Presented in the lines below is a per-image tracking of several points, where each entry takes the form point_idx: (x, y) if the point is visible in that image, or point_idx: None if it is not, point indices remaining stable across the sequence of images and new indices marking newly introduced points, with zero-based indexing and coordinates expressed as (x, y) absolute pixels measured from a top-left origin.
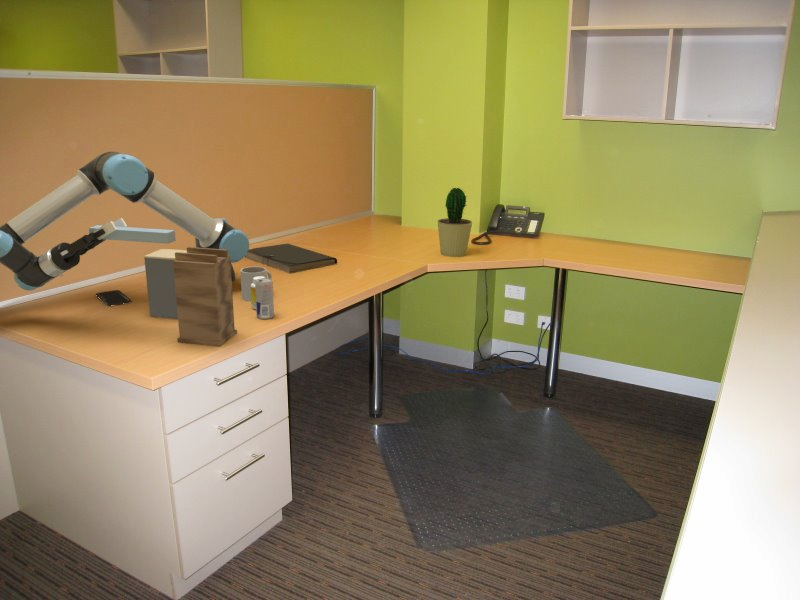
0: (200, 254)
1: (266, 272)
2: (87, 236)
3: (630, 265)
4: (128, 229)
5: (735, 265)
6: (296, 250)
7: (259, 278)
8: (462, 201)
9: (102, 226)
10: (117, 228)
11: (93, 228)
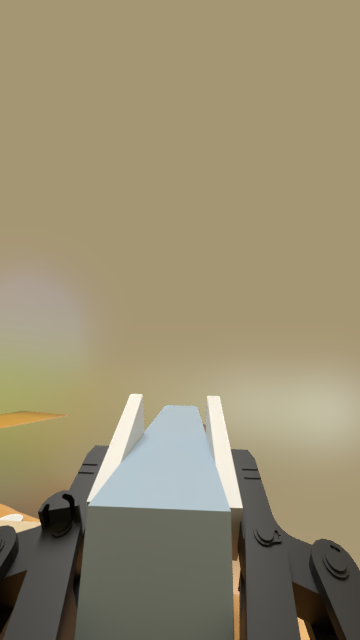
0: (205, 429)
1: None
2: (321, 550)
3: (14, 422)
4: (186, 425)
5: (36, 412)
6: None
7: (14, 519)
8: None
9: (226, 436)
10: (180, 437)
11: (223, 489)
